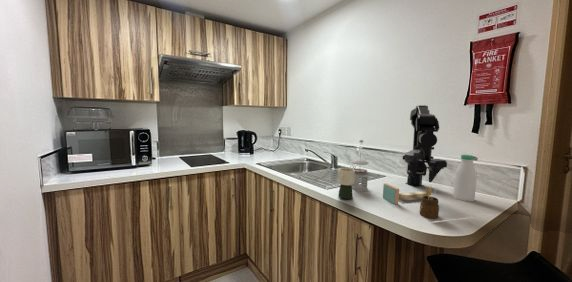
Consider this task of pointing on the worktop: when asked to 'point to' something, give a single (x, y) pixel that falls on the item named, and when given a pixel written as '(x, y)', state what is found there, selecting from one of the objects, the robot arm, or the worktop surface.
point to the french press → (360, 175)
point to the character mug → (346, 182)
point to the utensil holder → (429, 205)
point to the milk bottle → (465, 179)
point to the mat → (410, 201)
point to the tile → (391, 193)
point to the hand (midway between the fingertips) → (421, 179)
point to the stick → (412, 196)
